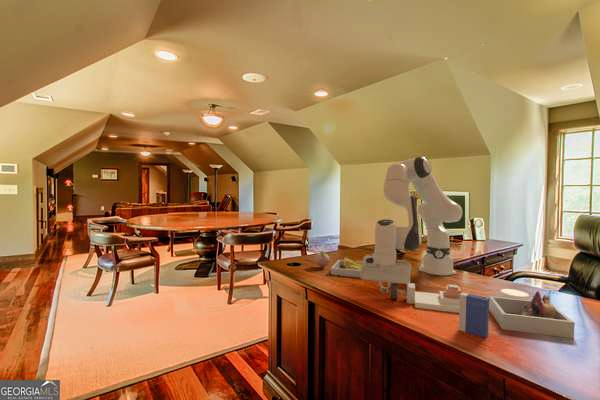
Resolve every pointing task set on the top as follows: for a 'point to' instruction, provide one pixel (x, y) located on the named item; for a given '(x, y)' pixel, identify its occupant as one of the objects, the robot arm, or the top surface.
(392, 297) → the wheel
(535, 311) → the brake caliper
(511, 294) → the coaster
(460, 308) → the walkman
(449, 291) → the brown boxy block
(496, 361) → the top surface
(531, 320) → the tray
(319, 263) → the decorative fruit
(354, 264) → the plastic component
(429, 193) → the robot arm
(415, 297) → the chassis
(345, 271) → the sorting frame
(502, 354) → the top surface
